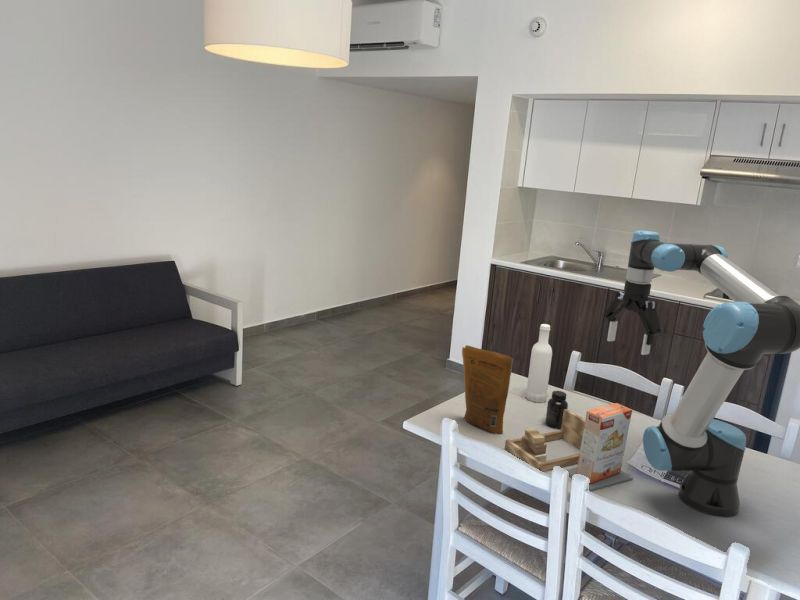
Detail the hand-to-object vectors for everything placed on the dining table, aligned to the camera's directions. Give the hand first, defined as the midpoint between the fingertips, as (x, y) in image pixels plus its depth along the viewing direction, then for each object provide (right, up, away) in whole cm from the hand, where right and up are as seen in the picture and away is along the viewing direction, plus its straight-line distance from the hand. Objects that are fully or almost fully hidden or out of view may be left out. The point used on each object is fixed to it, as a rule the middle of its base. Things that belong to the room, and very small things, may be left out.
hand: (627, 347), depth 187 cm
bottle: (-19, -24, +45) cm, 54 cm away
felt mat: (-13, -37, -10) cm, 41 cm away
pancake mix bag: (-44, -29, +17) cm, 55 cm away
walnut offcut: (-30, -32, -3) cm, 44 cm away
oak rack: (-24, -34, +1) cm, 41 cm away
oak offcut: (-30, -29, -4) cm, 42 cm away
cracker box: (-13, -37, -11) cm, 41 cm away
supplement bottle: (-17, -29, +23) cm, 41 cm away
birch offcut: (-30, -34, -2) cm, 46 cm away
